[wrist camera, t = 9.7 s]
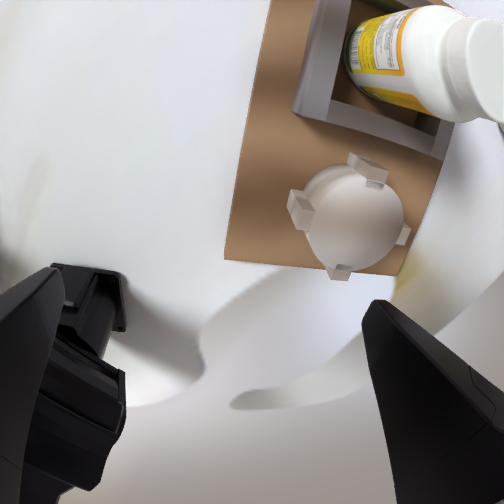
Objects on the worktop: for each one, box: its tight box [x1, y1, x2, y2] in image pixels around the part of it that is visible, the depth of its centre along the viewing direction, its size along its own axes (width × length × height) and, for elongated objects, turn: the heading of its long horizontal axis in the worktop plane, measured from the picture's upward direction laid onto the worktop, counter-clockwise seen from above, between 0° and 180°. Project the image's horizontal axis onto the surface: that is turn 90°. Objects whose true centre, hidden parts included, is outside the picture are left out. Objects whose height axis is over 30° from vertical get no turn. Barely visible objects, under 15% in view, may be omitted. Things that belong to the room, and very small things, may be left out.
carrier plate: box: [224, 0, 455, 281], centre depth 15 cm, size 22×14×4 cm, turn 170°
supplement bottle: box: [343, 5, 504, 124], centre depth 9 cm, size 5×5×10 cm
